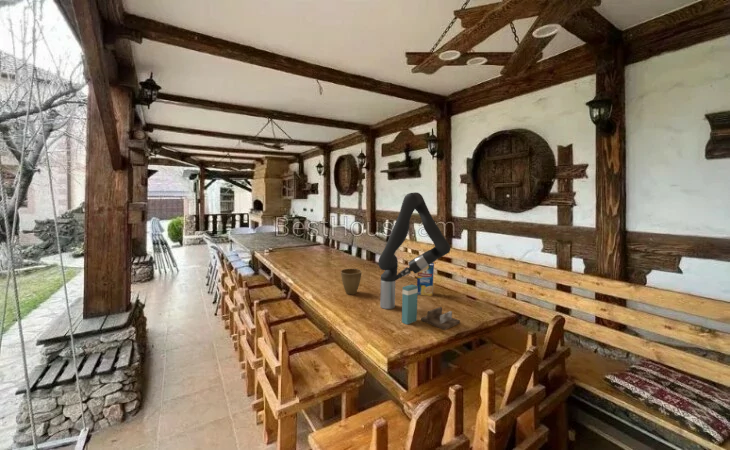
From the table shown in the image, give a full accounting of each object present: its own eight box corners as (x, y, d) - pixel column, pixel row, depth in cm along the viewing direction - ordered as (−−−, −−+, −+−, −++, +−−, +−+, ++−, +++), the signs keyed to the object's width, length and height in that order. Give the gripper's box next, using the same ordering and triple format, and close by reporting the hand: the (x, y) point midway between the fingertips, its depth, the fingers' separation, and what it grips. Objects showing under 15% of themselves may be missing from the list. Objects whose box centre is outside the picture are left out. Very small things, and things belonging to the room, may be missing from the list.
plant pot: (338, 291, 228) (338, 269, 227) (357, 289, 233) (357, 267, 232) (344, 297, 214) (344, 274, 213) (364, 295, 220) (364, 272, 218)
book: (411, 318, 179) (412, 284, 177) (416, 320, 176) (417, 286, 174) (401, 322, 174) (402, 287, 172) (407, 324, 171) (408, 288, 169)
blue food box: (432, 296, 220) (433, 265, 218) (416, 294, 223) (417, 264, 221) (433, 293, 226) (434, 263, 224) (417, 291, 229) (418, 262, 227)
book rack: (435, 314, 186) (436, 304, 185) (459, 323, 174) (460, 312, 173) (420, 320, 177) (421, 310, 176) (444, 330, 165) (445, 318, 164)
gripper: (416, 257, 184) (393, 272, 187) (413, 258, 170) (388, 274, 173) (423, 268, 182) (400, 283, 185) (421, 270, 169) (395, 286, 172)
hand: (394, 278), depth 179 cm, fingers open, 8 cm apart
